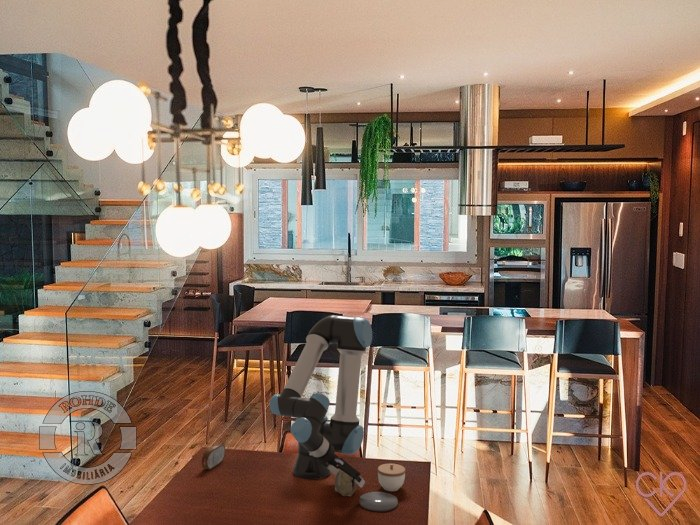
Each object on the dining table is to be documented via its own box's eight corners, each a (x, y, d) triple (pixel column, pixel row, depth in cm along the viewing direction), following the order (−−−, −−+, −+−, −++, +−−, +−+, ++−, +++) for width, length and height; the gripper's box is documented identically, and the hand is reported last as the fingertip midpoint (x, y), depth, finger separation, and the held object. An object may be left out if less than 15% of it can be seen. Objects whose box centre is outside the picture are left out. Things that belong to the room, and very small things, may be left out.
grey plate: (351, 501, 240) (351, 498, 240) (378, 491, 249) (378, 488, 249) (378, 514, 230) (378, 511, 230) (405, 503, 239) (405, 500, 239)
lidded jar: (403, 495, 247) (403, 470, 246) (375, 492, 249) (375, 468, 248) (406, 484, 257) (407, 460, 257) (379, 481, 260) (380, 458, 259)
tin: (220, 459, 280) (220, 440, 279) (226, 460, 279) (226, 441, 278) (200, 471, 266) (200, 451, 265) (207, 472, 265) (207, 452, 264)
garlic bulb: (339, 503, 244) (332, 481, 241) (335, 490, 252) (328, 469, 249) (363, 494, 245) (356, 472, 242) (358, 482, 253) (351, 460, 250)
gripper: (293, 448, 245) (323, 477, 256) (338, 467, 227) (368, 498, 238) (305, 431, 248) (333, 461, 259) (349, 449, 230) (378, 480, 241)
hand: (350, 479), depth 249 cm, fingers open, 13 cm apart
